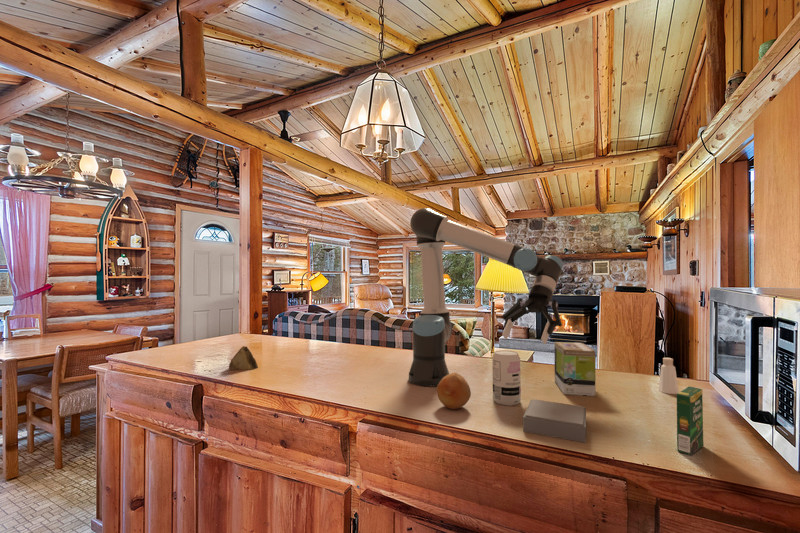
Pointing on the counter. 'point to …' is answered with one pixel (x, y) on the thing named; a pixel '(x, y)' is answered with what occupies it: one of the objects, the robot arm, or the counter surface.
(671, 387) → the pepper shaker
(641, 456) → the counter surface
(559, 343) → the tea box
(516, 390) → the supplement can
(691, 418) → the coffee box
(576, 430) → the base block
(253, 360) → the rock
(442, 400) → the onion
